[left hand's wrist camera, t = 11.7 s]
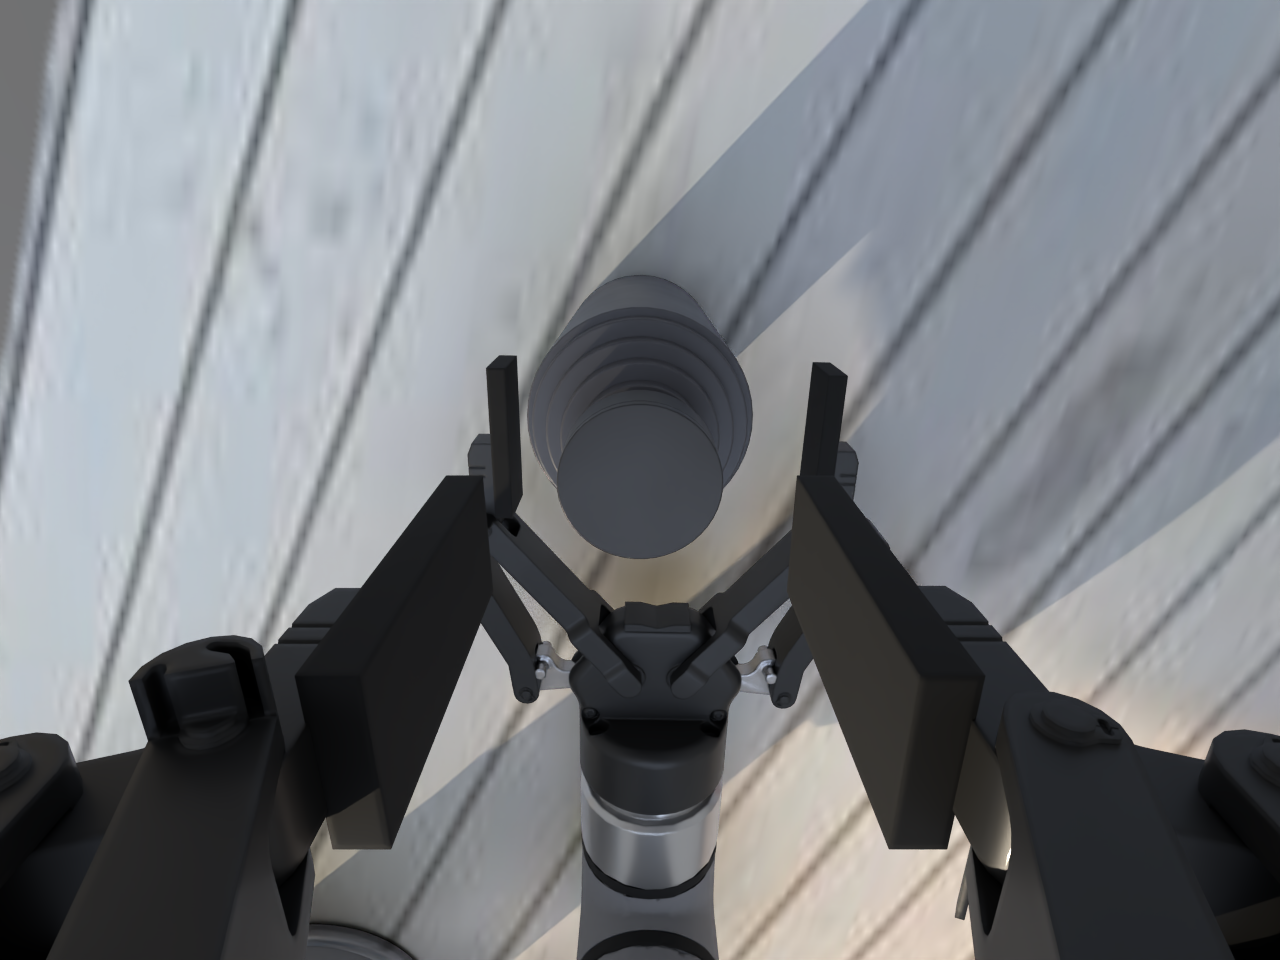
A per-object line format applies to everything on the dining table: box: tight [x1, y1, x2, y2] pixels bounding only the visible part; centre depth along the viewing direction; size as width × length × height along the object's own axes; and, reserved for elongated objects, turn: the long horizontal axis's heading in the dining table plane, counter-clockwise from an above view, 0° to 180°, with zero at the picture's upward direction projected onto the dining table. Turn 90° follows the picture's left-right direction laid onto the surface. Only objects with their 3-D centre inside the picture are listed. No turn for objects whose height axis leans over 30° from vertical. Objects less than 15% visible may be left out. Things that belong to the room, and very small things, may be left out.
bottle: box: [527, 275, 753, 489], centre depth 26 cm, size 7×7×18 cm
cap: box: [557, 390, 723, 559], centre depth 18 cm, size 4×4×2 cm
